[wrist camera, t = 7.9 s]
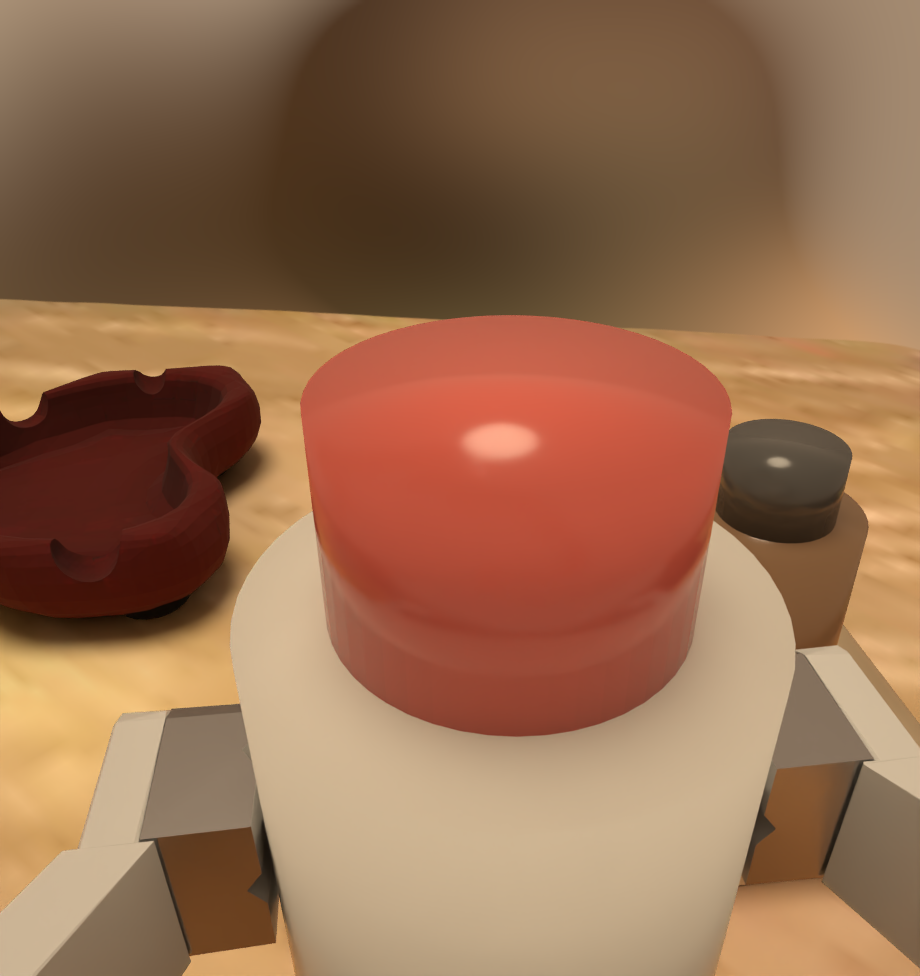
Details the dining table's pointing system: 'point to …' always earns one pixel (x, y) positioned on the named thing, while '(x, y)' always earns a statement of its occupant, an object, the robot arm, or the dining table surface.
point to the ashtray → (120, 491)
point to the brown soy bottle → (795, 518)
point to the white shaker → (511, 660)
